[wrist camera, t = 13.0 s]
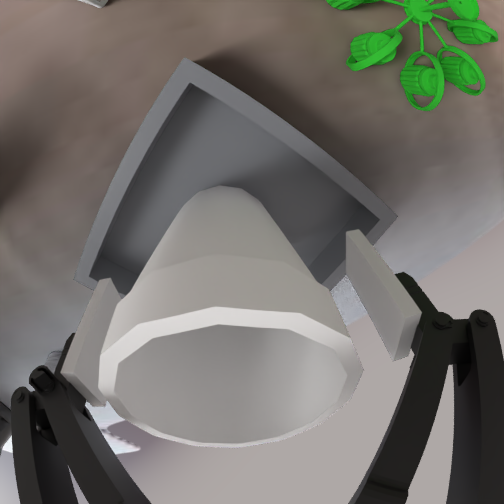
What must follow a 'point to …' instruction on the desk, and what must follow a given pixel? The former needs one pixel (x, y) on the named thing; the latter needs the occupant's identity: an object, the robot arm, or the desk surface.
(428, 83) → the green leafy sprig
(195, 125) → the tray
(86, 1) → the supplement box
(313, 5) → the desk surface
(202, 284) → the foam cup
